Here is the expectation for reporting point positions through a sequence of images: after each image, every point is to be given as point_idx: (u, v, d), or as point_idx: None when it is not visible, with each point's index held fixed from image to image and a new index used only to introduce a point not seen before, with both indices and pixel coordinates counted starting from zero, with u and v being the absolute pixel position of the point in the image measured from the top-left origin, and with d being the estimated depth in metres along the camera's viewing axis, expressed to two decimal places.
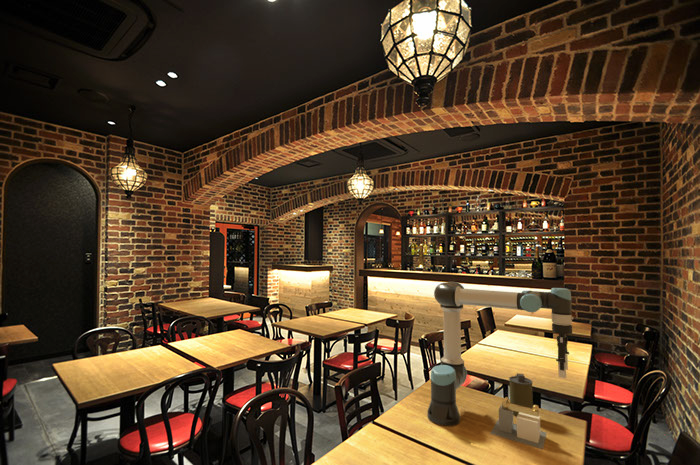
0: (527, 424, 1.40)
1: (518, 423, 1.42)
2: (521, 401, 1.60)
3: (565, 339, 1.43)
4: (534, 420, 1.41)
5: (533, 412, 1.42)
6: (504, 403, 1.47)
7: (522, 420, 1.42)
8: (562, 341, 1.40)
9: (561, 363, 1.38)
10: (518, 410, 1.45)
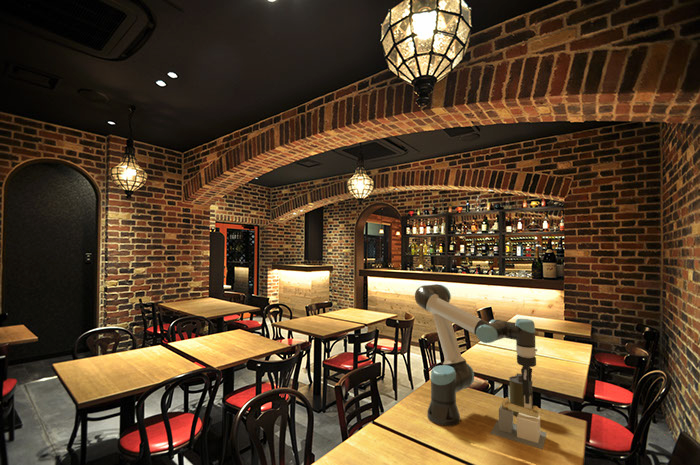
0: (527, 424, 1.40)
1: (518, 423, 1.42)
2: (521, 401, 1.60)
3: (529, 372, 1.44)
4: (534, 420, 1.41)
5: (532, 413, 1.41)
6: (503, 403, 1.47)
7: (522, 420, 1.42)
8: (526, 379, 1.41)
9: (526, 397, 1.44)
10: (517, 410, 1.45)
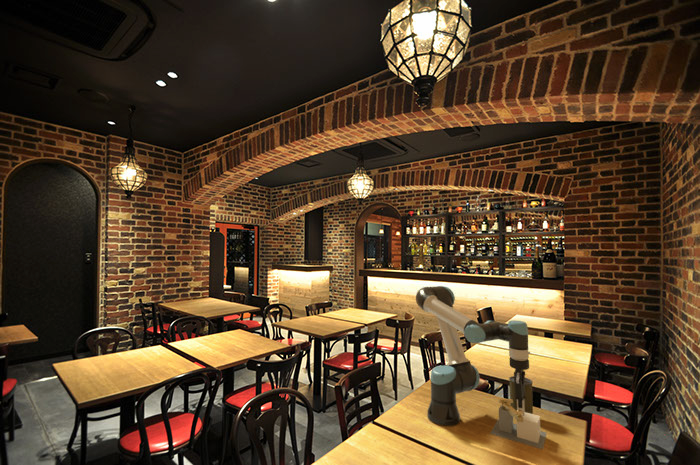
0: (527, 424, 1.40)
1: (518, 423, 1.42)
2: None
3: (522, 376, 1.40)
4: (534, 420, 1.41)
5: (516, 416, 1.38)
6: (499, 401, 1.49)
7: None
8: (519, 383, 1.37)
9: (519, 401, 1.40)
10: (509, 411, 1.44)
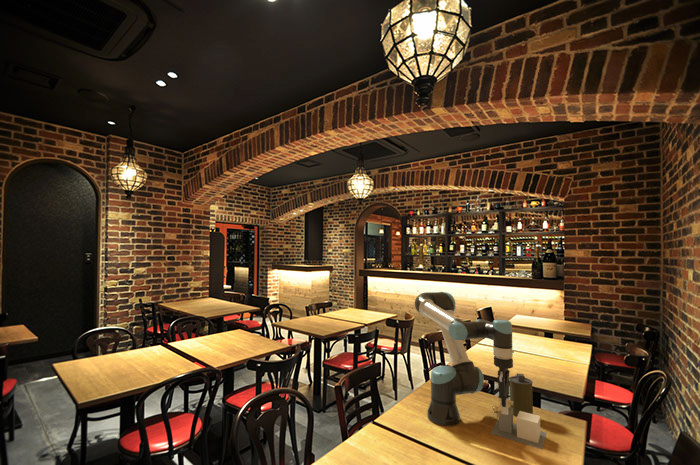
0: (527, 424, 1.40)
1: (518, 423, 1.42)
2: (521, 401, 1.60)
3: (505, 374, 1.40)
4: (534, 420, 1.41)
5: None
6: None
7: (522, 420, 1.42)
8: (502, 381, 1.38)
9: (503, 400, 1.40)
10: None
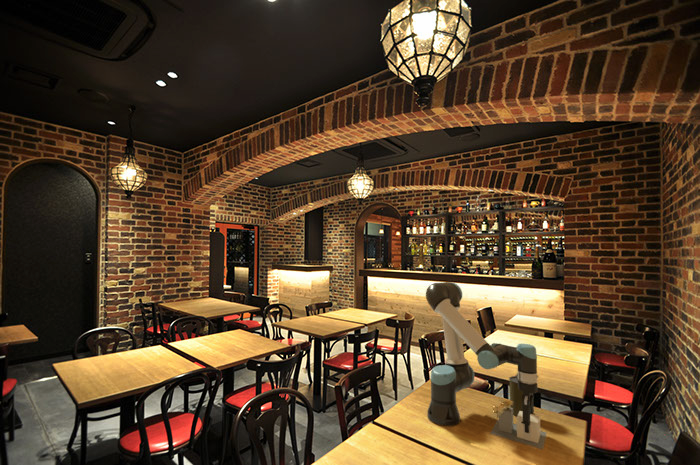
0: None
1: (518, 423, 1.42)
2: (521, 401, 1.60)
3: (530, 398, 1.42)
4: (534, 420, 1.41)
5: None
6: None
7: (522, 420, 1.42)
8: (526, 404, 1.39)
9: (526, 426, 1.39)
10: None
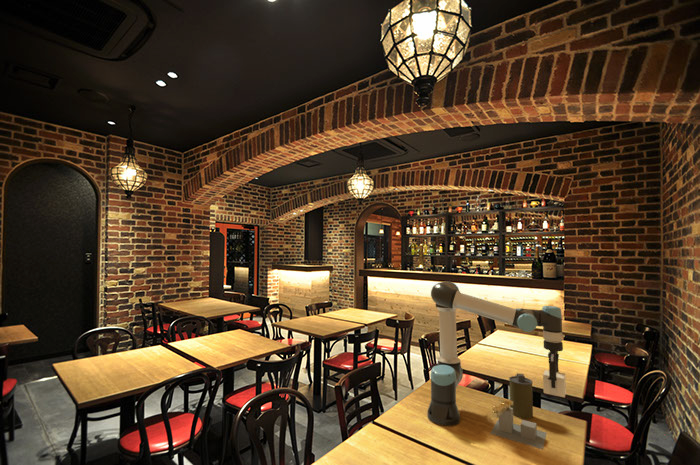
0: None
1: (545, 380, 1.49)
2: (521, 401, 1.60)
3: (556, 356, 1.49)
4: (560, 376, 1.48)
5: None
6: None
7: (548, 377, 1.49)
8: (553, 360, 1.46)
9: (552, 381, 1.46)
10: None
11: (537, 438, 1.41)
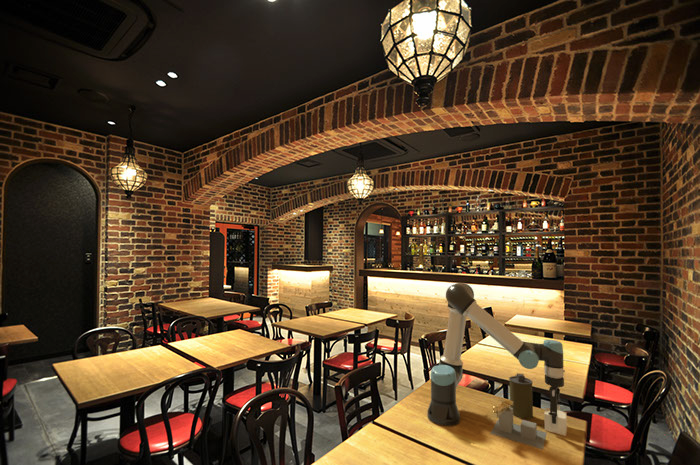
0: None
1: (546, 419, 1.48)
2: (521, 401, 1.60)
3: (557, 391, 1.48)
4: (561, 416, 1.47)
5: None
6: None
7: None
8: (554, 395, 1.45)
9: (553, 417, 1.44)
10: None
11: (537, 438, 1.41)
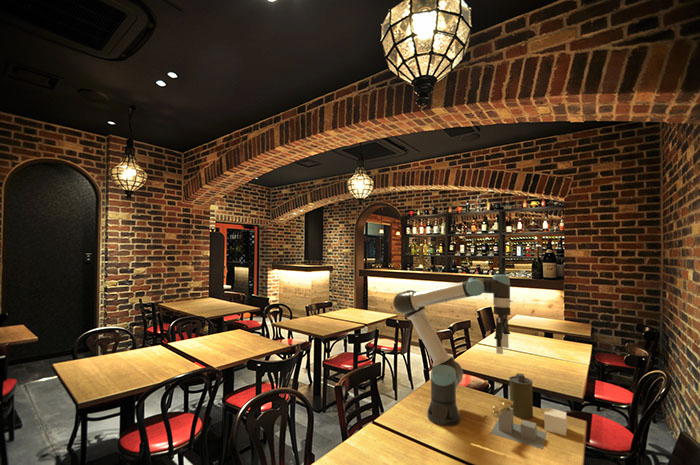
0: (555, 420, 1.46)
1: (546, 419, 1.48)
2: (521, 401, 1.60)
3: (504, 320, 1.60)
4: (561, 416, 1.47)
5: None
6: None
7: (550, 416, 1.48)
8: (500, 321, 1.57)
9: (498, 340, 1.55)
10: None
11: (537, 438, 1.41)
